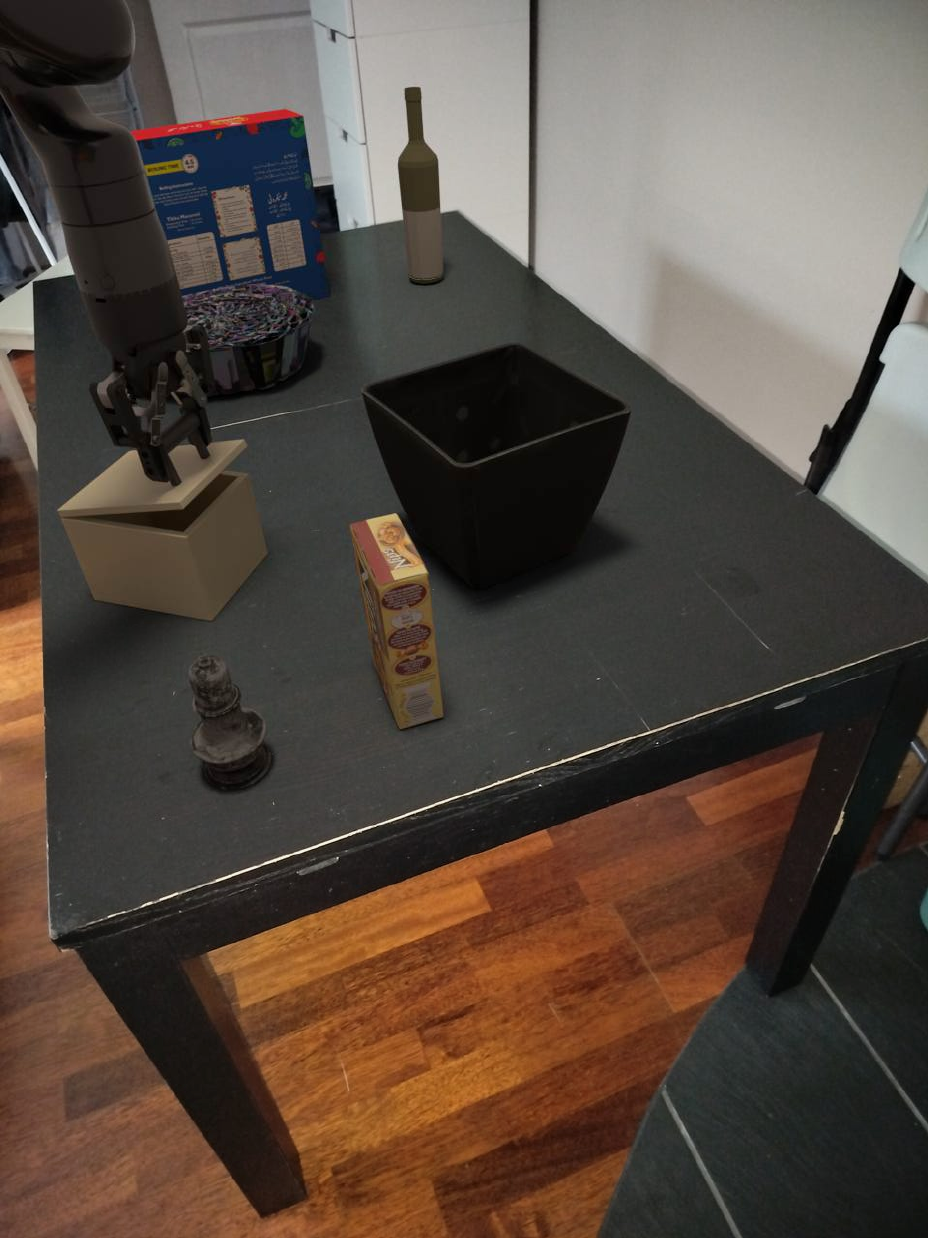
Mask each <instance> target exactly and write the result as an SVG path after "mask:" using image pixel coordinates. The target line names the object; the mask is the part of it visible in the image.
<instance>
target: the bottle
mask: <svg viewBox="0 0 928 1238" xmlns="http://www.w3.org/2000/svg"><path fill="white" fill-rule="evenodd" d="M403 90H404V93H403V94H404V101H405V109H406V123H407V125H406V126H407V136H408V140H407V144H406V145H405V147H404V149H403V150H402V152H401V153H400V154H399V156H398V159H397V172H398V182H399V192H400V203H401V211H402V221H403V233H404V242H405V249H406V250H405V251H406V261H407V269H408V270H407V271H408V277H409V276H411V277H412V278H415V279H421V280H415V279H412V278H410V277H409V281H411V282H413V283H416V284H421V285H429V284H433V283H434V284H435V283H437V282H439V281H441V280H442V279H444V259H443V258H444V257H443V256H444V255H443V236H442V215H441V214H442V213H441V212H442V211H441V191H440V190H441V189H440V170H439V169H440V168H439V166H440V165H439V158H438V155H437V154H436V153H435V152H434V150H433V149H432V148H431V147H430V146H429V144H428V143H426V140H425V137H424V121H423V105H422V99H423V97H422V96H423V95H422V88H421V87H420V86H409V87H405V88H404V89H403ZM442 274H443V275H442ZM441 275H442V276H441ZM439 276H441V277H439ZM437 277H439V278H437ZM432 278H436V279H432ZM422 279H432V280H422Z"/></svg>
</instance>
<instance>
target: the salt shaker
mask: <svg viewBox="0 0 928 1238" xmlns="http://www.w3.org/2000/svg"><path fill="white" fill-rule="evenodd" d="M230 673H231V672H230V671H229V667H228V664H227V663H226V661H225V660H224V659H223V658H221V657H219V656H216V655H209V654H207V653H205V652H201V653H200V654H199V655H198V656H197V659H196V660H195V661H194V662H193V663H192V664H191V665H190V667H189V669H188V672H187V674H188V681H189V684H190V687H191V689H192V692H193V695H194V697H193V699H192V709H193V711H194V713H196V714H197V715H198V716H200V721H199V722H198V723H197V724H196V725H195V726H194V728H193V730H192V731H191V734H190V738H189V747H190V750H191V751H192V754H193V756H195V757H196V758H197V759H198V760H200V761H202V762H203V764H204V768H203V769H204V777H205V778H206V781H207V782H208V783H209V784H210V785H211V786H213V787H214V788H217V789H219V790H223V791H237V790H241V789H245V788H247V787H249V786H252V785H254V784H256V783H257V782H258V781H260V780H261V779H262V778H263V777H264V776H265V775H266V774H267V772H268V770H269V769H270V767H271V762H272V755H271V751H270V749H269V748H268V746H267V745H265V744H264V742H265V739H266V734H267V723H266V720H265V718H264V717H263V715H262V714H260V713H259V712H258V711H257V710H254V709H252V708H248V707H245V706H244V707H243V706H241V702H240V701H241V698H242V692H241V690H240V688H239V687H238V685H236V684H235V683H233V680H232V676H231V674H230Z"/></svg>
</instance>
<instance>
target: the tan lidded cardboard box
mask: <svg viewBox="0 0 928 1238" xmlns="http://www.w3.org/2000/svg"><path fill="white" fill-rule="evenodd" d="M258 510H259V509H258V506H257V502H256V498H255V493H254V490H253V486H252V481H251V477H250V474H249V472H240V471H233V470H225V469H224V470H223V471H222V472H221V473H220V474H219V475H218V476H217V477H216V478H215V479H214V480H212V481H211V482H210V483H209V484H208V485H207V486H206V487H205V488H204V489H203V490H202V491H201V492H200V493H199V494H198V495H197V496H196V497H195V498H194V499H193V500H192V501H191V502H190V503H189V504H188V505H187V506H186V507H185V508H184V509H181V510H166V511H150V512H135V513H119V514H103V515H88V516H72V517H60V520H61V523H62V525H63V527H64V530H65V532H66V534H67V537H68V539H69V542H70V545H71V546H72V549H73V552H74V555H75V557H76V559H77V562H78V565H79V567H80V569H81V571H82V573H83V576H84V578H85V581H86V583H87V585H88V588H89V590H90V593H91V596H92V598H93V600H94V601H97V602H98V601H99V602H103V603H110V604H115V605H121V606H127V607H131V608H135V609H136V608H137V609H142V610H146V611H147V610H148V611H154V612H158V613H164V614H170V615H176V616H180V617H187V618H191V619H196V620H197V619H198V620H201V621H208V622H214V620H215V618H216V617H217V616H218V615H219V613H220V612H221V611H222V610H223V609H224V608H225V606H226V605H227V604H228V603H229V601H230V600H231V599H232V598H233V597H234V596H235V594H236V593H237V592H238V591H239V589H240V588H241V587H242V586H243V584H245V582H246V581H247V580H248V579H249V577H250V576H251V575H252V573H254V571H255V570H256V569H257V568H258V567H259V565H260V564H261V563H262V561H264V559H265V558H266V557H267V556H268V553H269V552H268V548H267V544H266V539H265V536H264V532H263V528H262V523H261V520H260V514H259V511H258Z"/></svg>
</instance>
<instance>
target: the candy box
mask: <svg viewBox="0 0 928 1238" xmlns="http://www.w3.org/2000/svg"><path fill="white" fill-rule="evenodd" d="M349 529H350V534H351V535H350V536H351V541H352V542H351V543H352V547H353V553H354V559H355V563H356V565H355V566H356V569H357V574H358V582H359V586H360V592H361V598H362V604H363V609H364V616H365V621H366V626H367V631H368V636H369V642H370V647H371V654H372V659H373V665H374V667H375V670H376V673H377V675H378V678H379V681H380V684H381V686H382V689H383V693H384V694H385V697H386V699H387V702H388V705H389V707H390V711H391V712H392V714H393V718H394V719H395V722H396V725H397V727H398V729H399V730H404V729H407V728H411V727H414V726H417V725H420V724H424V723H427V722H431V721H434V720H438V719H441V718H444V707H443V706H444V705H443V698H442V697H443V695H442V689H441V679H440V670H439V669H440V668H439V660H438V651H437V650H438V649H437V641H436V631H435V630H436V629H435V622H434V613H433V604H432V593H431V585H430V584H431V583H430V573H429V571H428V569H427V566H426V565H425V562H424V561H423V559H422V557H421V555H420V553H419V551H418V550H417V548H416V546H415V544H414V541H413V540H412V538H411V537H410V535H409V533H408V532H407V529H406V527H405V525H404V524H403V523H402V520H401V518H400V517H399V515H398V513H395V512H394V513H391V514H387V515H382V516H378V517H373V518H368V519H365V520H360V521H356V522H353V523H350V524H349Z"/></svg>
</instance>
